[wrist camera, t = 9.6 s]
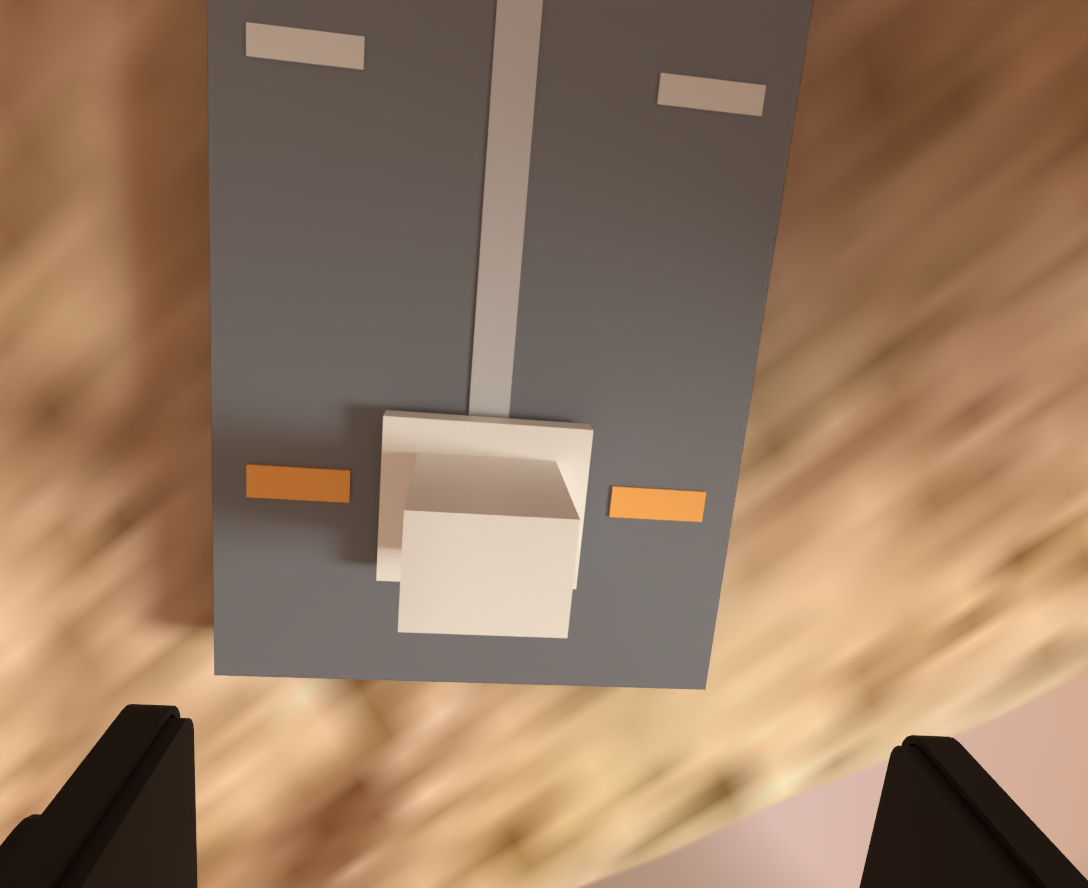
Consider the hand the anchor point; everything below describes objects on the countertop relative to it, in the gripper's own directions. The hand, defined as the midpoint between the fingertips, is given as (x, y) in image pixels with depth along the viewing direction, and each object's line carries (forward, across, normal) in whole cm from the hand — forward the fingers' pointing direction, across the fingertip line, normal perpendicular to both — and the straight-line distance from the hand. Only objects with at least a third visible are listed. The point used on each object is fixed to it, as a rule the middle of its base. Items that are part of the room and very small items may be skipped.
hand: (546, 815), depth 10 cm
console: (+17, +1, -6) cm, 18 cm away
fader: (+14, +1, 0) cm, 14 cm away
